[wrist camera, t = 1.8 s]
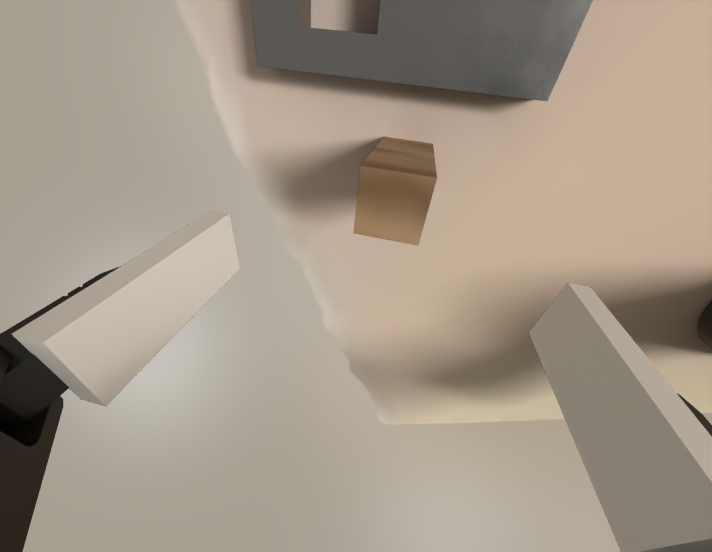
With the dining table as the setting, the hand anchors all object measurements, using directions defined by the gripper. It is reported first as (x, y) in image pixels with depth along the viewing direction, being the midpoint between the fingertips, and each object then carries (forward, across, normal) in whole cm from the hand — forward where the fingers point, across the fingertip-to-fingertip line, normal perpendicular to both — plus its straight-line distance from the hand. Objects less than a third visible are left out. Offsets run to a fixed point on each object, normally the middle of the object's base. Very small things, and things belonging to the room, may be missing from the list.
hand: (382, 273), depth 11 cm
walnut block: (+21, 0, +1) cm, 21 cm away
